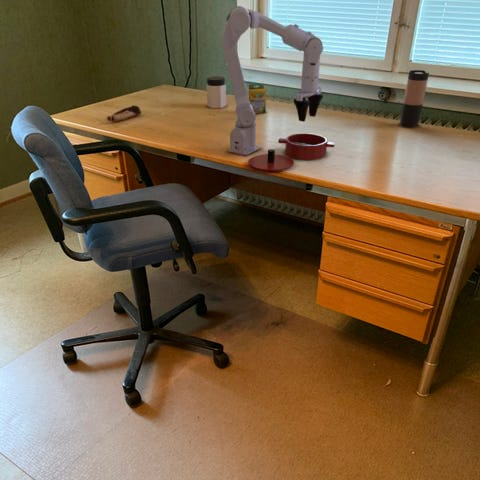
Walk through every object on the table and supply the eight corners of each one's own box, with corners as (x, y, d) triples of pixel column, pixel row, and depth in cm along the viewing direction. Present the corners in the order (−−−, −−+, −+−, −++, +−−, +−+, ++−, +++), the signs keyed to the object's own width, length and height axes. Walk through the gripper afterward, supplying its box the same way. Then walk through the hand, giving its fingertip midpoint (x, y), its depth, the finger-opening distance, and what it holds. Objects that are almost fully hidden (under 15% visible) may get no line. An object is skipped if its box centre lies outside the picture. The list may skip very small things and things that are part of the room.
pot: (330, 162, 168) (332, 147, 165) (274, 157, 172) (274, 143, 169) (335, 149, 179) (337, 135, 176) (282, 144, 183) (282, 131, 180)
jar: (204, 105, 231) (203, 77, 224) (220, 103, 234) (219, 75, 227) (213, 109, 225) (211, 80, 217) (228, 107, 228) (228, 79, 220)
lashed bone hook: (131, 113, 221) (99, 121, 210) (130, 102, 219) (97, 109, 207) (145, 116, 216) (113, 124, 205) (144, 104, 214) (111, 112, 202)
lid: (288, 174, 159) (289, 159, 156) (243, 170, 162) (243, 155, 159) (297, 159, 171) (298, 145, 168) (254, 155, 174) (254, 141, 171)
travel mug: (397, 126, 202) (407, 72, 189) (401, 121, 207) (411, 69, 195) (416, 128, 199) (427, 74, 187) (420, 123, 204) (431, 71, 192)
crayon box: (250, 114, 218) (250, 85, 211) (248, 112, 220) (248, 84, 213) (265, 112, 219) (266, 84, 212) (263, 111, 222) (264, 83, 215)
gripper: (310, 81, 159) (307, 125, 167) (330, 74, 169) (326, 115, 177) (291, 79, 162) (289, 121, 171) (312, 72, 172) (309, 112, 180)
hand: (307, 118), depth 174 cm, fingers open, 7 cm apart
